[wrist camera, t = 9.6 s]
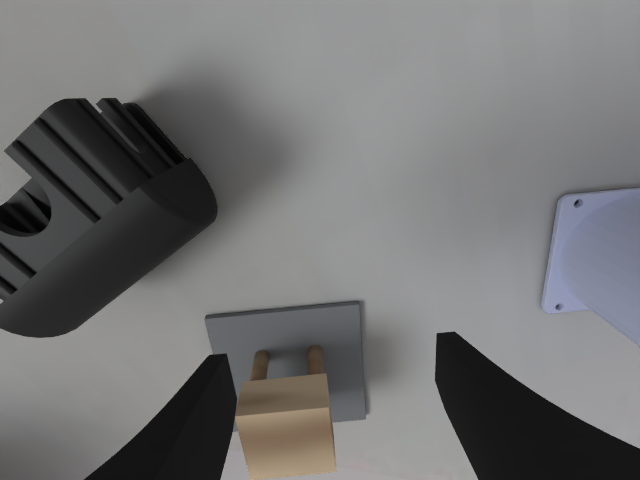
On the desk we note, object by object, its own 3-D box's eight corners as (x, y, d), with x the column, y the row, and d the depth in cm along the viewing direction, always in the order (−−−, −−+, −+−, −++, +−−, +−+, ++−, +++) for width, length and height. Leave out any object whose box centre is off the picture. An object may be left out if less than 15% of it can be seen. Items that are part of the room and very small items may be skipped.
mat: (358, 301, 23) (359, 304, 23) (365, 414, 27) (365, 419, 27) (206, 315, 23) (204, 319, 23) (233, 427, 27) (232, 431, 27)
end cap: (114, 291, 23) (40, 365, 16) (17, 205, 21) (-111, 253, 14) (232, 198, 21) (200, 242, 14) (139, 91, 19) (53, 89, 12)
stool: (330, 398, 26) (336, 471, 21) (261, 404, 26) (250, 480, 21) (324, 341, 24) (328, 407, 19) (250, 348, 24) (234, 416, 19)
